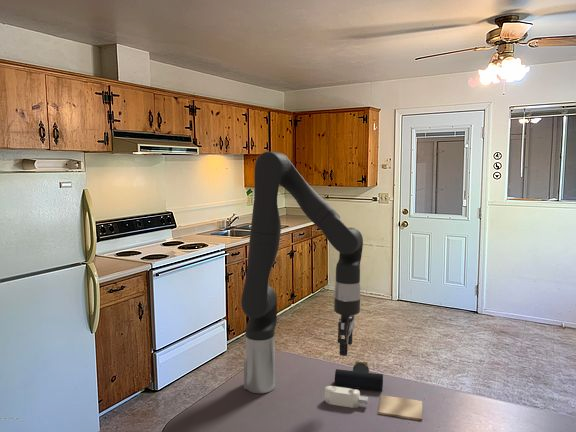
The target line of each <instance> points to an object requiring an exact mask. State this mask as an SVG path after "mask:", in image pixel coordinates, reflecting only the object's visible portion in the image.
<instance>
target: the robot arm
mask: <svg viewBox="0 0 576 432" xmlns="http://www.w3.org/2000/svg"><path fill="white" fill-rule="evenodd" d="M253 172H254V189H253V190H254V195H253V197H254V198H253V205H252V206H253V207H252V214H251V215H252V216H251V223H250V224H251V225H250V233H249V243H248V245H249V246H248V254H247V255H248V256H247V266H246V267H247V268H246V275H245V280H244V285H243V288H242V289H243V290H242V293H241V302H240V303H241V309H242V312H243V313H244V314H245V316H247V317H248V318H249V319H248V322H247V325H246V327H245V335H244V336H245V358H244V359H243V364H242V365H243V389H244V390H247V391H248V392H250V393H252V394H266V393H269V392H271V391H273V390H274V389H275V387H276V386H275V384H276V383H275V381H276V379H275V378H276V377H275V375H276V372H275V371H276V370H275V368H276V367H275V366H276V365H275V363H276V362H275V361H276V360H275V356H276V355H275V350H276V349H275V346H276V345H275V330H276V326H277V319H278V317H277V316H278V298H277V293H276V291H275V290H274V288H273V287H272V286H271V285H269V280H270V279H269V278H270V273H271V270H272V268H273V265H274V263H275V260H276V257H277V255H278V251H279V247H280V242H281V241H280V240H281V232H282V223H281V217H280V216H281V215H280V212H279V208H278V196H279V195H278V194H279V186H281V187H282V188H284V189H285V190H286V191H287V192H288V193H289V194H290V195H291V196H292V197H293V199H294V200H295V201H296V203H297V204H298V206H299V208H300V210H302V212H303V213H304V215H306V217H307V218H308V219H309V221H311V222H312V224H314V225H315V226H316V227H317V229H319V230H320V231H322V233H323V234H324V235H323V236H324V237H326V239H327V240H328V242H329V243H330V245H331V246H332V247H333V248H334V249H335V250H336V251H337V252H339V253H338V254H339V255H338V256H339V258H338V261H337V263H336V266H335V283H334V296H333V297H334V299H333V301H334V303H333V311H334V312H335V313H336V314H337V315H338V314H339V315H340V318H339V319H338V323H337V344H339V352H338V354H339V355H340V356H343V357H346V356H348V349H349V346H348V345H352V344H353V332H354V328H355V316H357V315H358V314H360V311H361V261H362V254H363V247H364V245H363V244H364V239H363V235H362V233H361V231H360V230H359V229H358V228H355V227H351V226H350V227H347V225H345V223H344V222H343V221H342V220H341V219H340V218H341V217H340V214H339V213H338V211H336V209H334V208H333V207H332V206H331V205H330V204H329V203H328V202H327V201H326V200H325V199H323V197H322V196H321V195H319V193H317V191H316V190H314V189H313V187H312V186H311V185H310V184H309V183H308V182H307V181H306V179H305V178H304V177H303V176H302V175H301V174H300V172H299V171H298V169H297V168H296V166H295V165H294V164H293V163H292V161H291V160H290V159H289V158H288V156H287V155H286V154H284V153H282V152H278V151H265V152H262V153H261V154H260V155H258V157H257V158H256V160H255V165H254V171H253ZM343 336H344V338H342V337H343Z"/></svg>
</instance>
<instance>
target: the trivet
mask: <svg viewBox="0 0 576 432" xmlns="http://www.w3.org/2000/svg"><path fill="white" fill-rule="evenodd" d="M377 414H378V415H383V416H387V417H396V418H402V419H409V420H413V421H414V420H415V421H421V422H422V421H423V400H417V399H411V398H405V397H397V396H389V395H381V398H380V401H379V406H378V411H377Z"/></svg>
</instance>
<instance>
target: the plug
mask: <svg viewBox="0 0 576 432" xmlns="http://www.w3.org/2000/svg"><path fill="white" fill-rule="evenodd" d="M324 402H325V403H326V405H327V404H328V405H333V406H339V407H345V408H350V409H351V408H352V409H356V408H359V407H360V404H366V405H367V404H368V403H369V397H368V396H364V395H361V392H360V390H359V389H355V388H351V387H344V386H337V385H327V386H325V388H324Z"/></svg>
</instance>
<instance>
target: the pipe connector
mask: <svg viewBox="0 0 576 432" xmlns="http://www.w3.org/2000/svg"><path fill="white" fill-rule="evenodd" d="M334 371H335V373H334V386H337V387H345V388H353V389H355V388H357V389H364V390H371V391H381V392H382V391H383V388H384V385H383V384H384V374H382V373H377V372H376V373H375V372H370V367H369V365H368V362H367V361H359V360H356V361H355V363H354V365H353V367H352V370H347V369H341V368H340V369H338V368H335V370H334Z"/></svg>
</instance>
